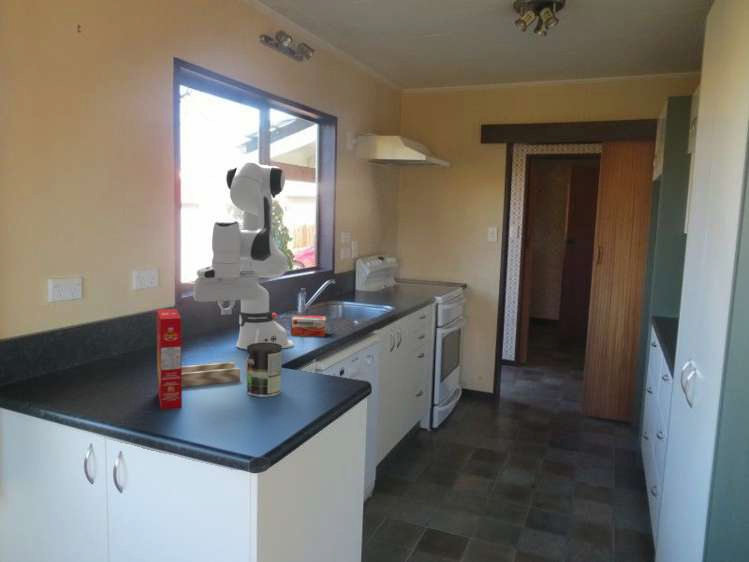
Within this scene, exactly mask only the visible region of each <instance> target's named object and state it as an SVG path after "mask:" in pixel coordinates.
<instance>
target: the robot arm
mask: <svg viewBox="0 0 749 562" xmlns="http://www.w3.org/2000/svg"><path fill="white" fill-rule="evenodd" d="M225 180H226V185H227V188H228V189H229V198H230V199H231V202H232V204H233V205H234V206H236V208H237V209H239V210H241V211H242V212H243V226H242V227H243V228H242V229H241V228H240V225H239V224H240V223H239V221H238V220H237V221H236V220H233V219H220V220H217V221H216V222H214V224H213V230H212V235H211V236H212V237H211V238H212V239H211V245H212V246H211V249H212V254H213V256H212V259H211V265H210V266H206V267H203V268H199V269H198V270H197V271H196V274H197V275H196V276H197V278H196V279H195V281H194V284H193V290H192V291H193V293H192V295H193V299H194V301H195V302H198V303H199V302H203V303H204V302H217V304H218V306H219V308H220V309H221V310H220V311H221V312H220V313H221V315H222V316H223V315H232V314H233V311H232V309H233V308H234V306H235V305H236V301H240V311H239V319H238V320H239V334H238V339H237V343H236V345H235V346H236V348H239V349H242V350H247V346H248V345H250V344H254V343H276V344H279V345H281V346H282V349H287V348H292V347H294V342H293V341H292V340H290V339H289V338H288V332H287V330H286V329H285V328H284V327H283V326H282V325H280V324H279V323H278V322H276V321H275V320H274V319H277V318H278V314H277V313H276V312H272V311H270V293H269V291H268V290H267V289H266V288H265V287H263V286H262V285H260V284H259V278H267V279H268V278H269V279H271V278H272V279H273V278H279V277H282V276H283V275H284V274H285V273H286V271H287V269H288V265H289V263H288V262H289V261H288V258H287V257H286V255H285V253H284V252H283V251H281V250H280V248H278V246H277V245H276V243H275V240H274V237H273V199H275V198H276V196H277V195H279V194H280V193H282V192H283V190H284V186H285V182H286V177H285V174H284V171H283V169H282V168H280V167H278V166H270V165H263V164H259V163H258V162H255V161H253V160H252V161H251V160H249V161H248V160H246V161H243V162H241V164H236V165H232V166H230V167H229V168H228V170H227V173H226V176H225ZM240 229H241V230H240ZM224 301H229V302H228V303H229V306H228V307H227V308H225V307H224V306H223V304H224Z"/></svg>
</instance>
